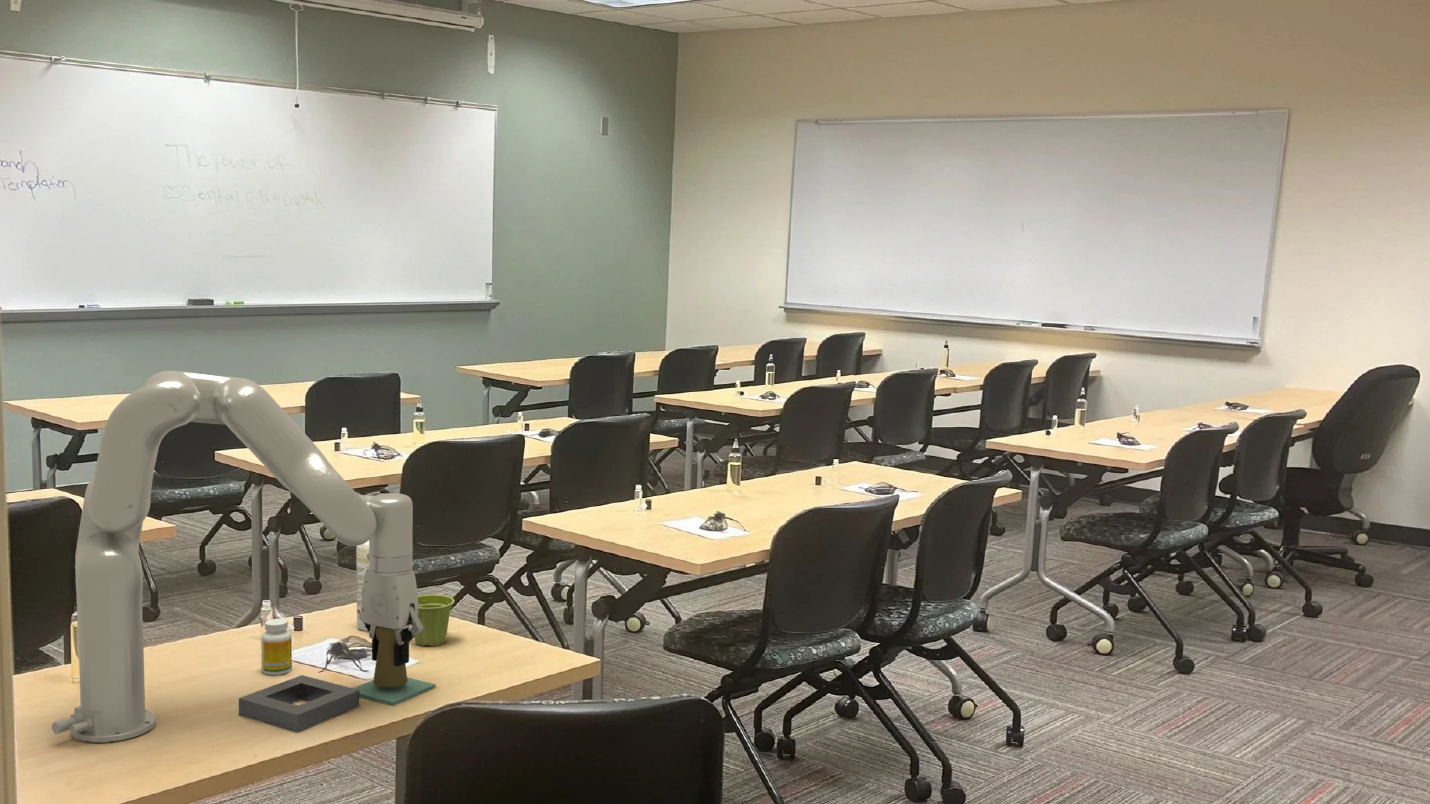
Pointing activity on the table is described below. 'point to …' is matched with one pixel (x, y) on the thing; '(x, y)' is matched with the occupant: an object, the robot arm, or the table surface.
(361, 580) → the juice carton
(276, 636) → the supplement bottle
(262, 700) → the socket block
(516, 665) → the table surface
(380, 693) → the rubber mat
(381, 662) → the cork
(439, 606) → the plant pot
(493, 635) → the table surface
